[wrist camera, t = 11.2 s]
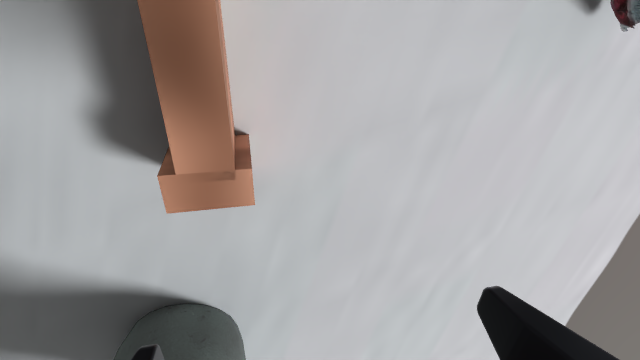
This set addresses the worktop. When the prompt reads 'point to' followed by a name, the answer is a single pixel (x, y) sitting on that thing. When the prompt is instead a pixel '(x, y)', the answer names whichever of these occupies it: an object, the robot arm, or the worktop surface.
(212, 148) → the block
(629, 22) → the packaged food
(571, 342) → the robot arm
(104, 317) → the worktop surface
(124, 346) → the bottle
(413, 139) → the worktop surface
